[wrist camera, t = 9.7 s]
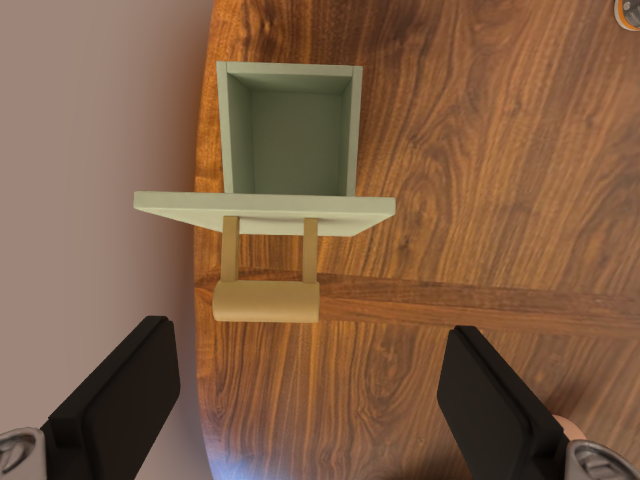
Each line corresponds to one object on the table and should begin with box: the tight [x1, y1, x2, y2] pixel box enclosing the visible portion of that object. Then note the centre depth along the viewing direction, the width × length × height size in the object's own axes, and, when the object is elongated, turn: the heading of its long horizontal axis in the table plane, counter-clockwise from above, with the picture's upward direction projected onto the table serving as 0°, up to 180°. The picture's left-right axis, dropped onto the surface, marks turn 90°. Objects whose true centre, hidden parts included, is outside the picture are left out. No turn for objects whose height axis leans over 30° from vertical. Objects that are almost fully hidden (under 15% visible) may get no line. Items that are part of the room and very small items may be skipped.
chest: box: [216, 61, 363, 197], centre depth 32 cm, size 14×12×11 cm
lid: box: [134, 191, 395, 323], centre depth 21 cm, size 14×12×6 cm
